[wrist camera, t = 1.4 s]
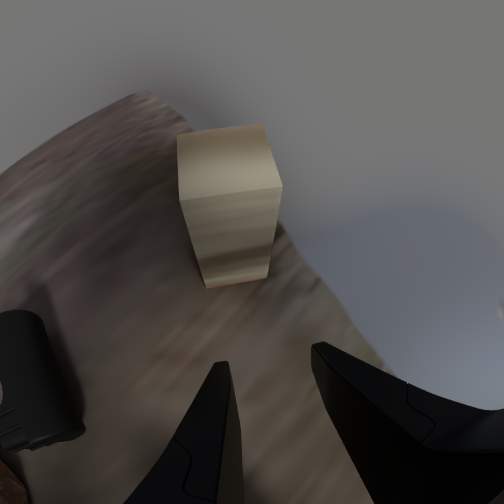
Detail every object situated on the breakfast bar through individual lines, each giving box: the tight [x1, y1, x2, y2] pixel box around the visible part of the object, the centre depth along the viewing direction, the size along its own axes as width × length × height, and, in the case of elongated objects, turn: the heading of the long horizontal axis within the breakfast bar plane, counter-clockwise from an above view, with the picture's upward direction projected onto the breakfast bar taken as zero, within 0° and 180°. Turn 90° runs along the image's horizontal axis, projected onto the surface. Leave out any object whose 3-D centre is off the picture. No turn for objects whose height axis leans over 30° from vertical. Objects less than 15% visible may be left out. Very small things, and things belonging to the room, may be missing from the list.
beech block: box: [177, 124, 283, 288], centre depth 20 cm, size 5×5×12 cm
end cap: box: [0, 310, 86, 452], centre depth 16 cm, size 10×7×7 cm
